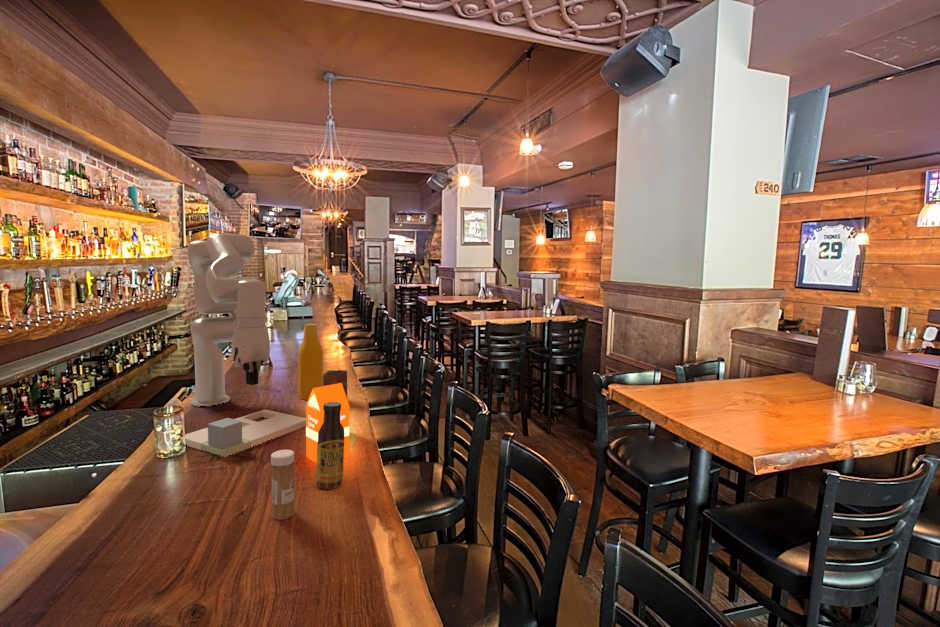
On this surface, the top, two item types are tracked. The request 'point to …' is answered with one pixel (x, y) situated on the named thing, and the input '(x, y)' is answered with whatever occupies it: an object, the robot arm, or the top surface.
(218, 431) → the block
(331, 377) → the brown piece
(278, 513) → the sprinkles bottle
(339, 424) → the sauce bottle
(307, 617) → the top surface
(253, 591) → the top surface
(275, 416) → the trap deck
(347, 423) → the orange juice
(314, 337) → the beer bottle
